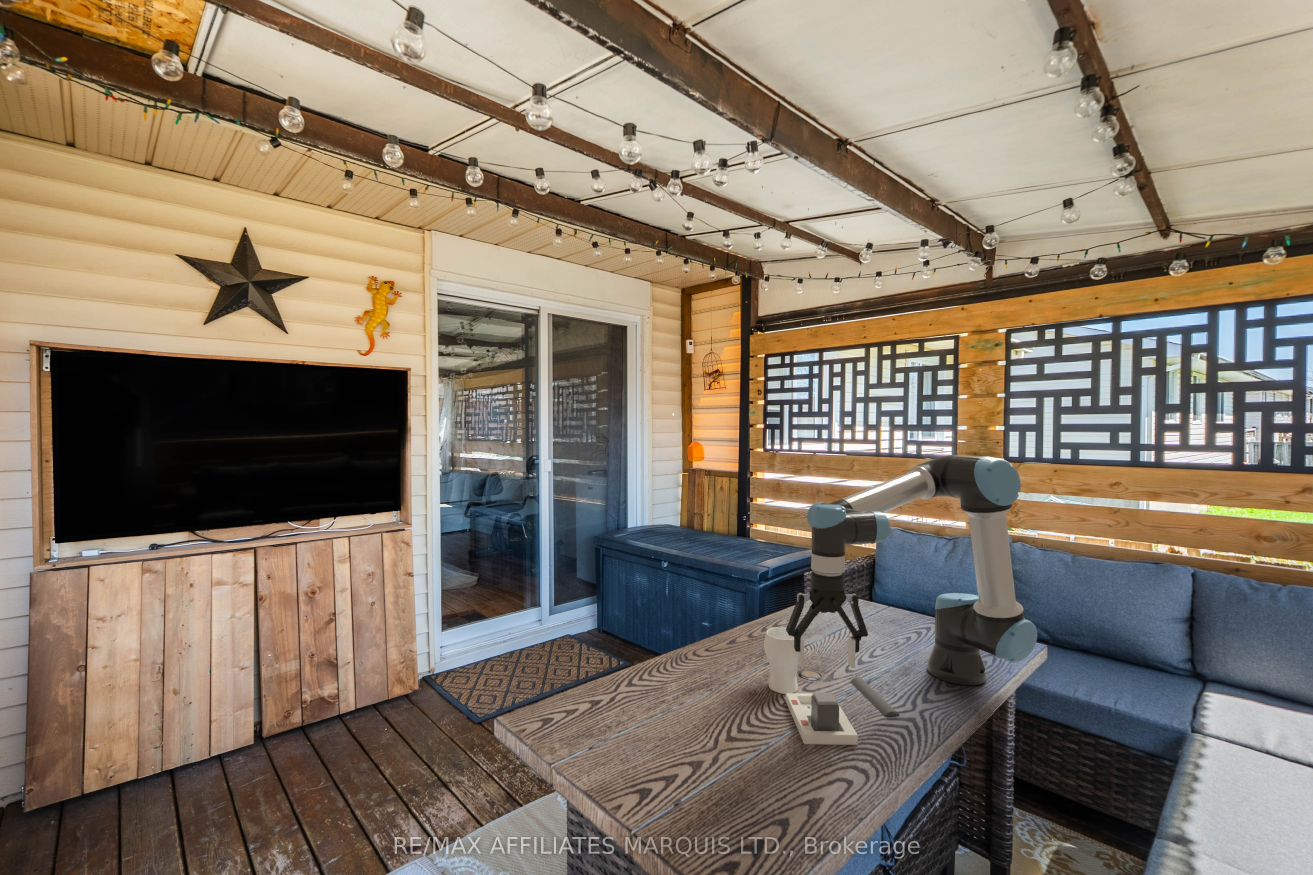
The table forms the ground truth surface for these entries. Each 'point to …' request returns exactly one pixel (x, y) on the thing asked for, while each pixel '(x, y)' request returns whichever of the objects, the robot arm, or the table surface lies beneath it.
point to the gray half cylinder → (873, 697)
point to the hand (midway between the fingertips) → (826, 665)
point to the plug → (824, 712)
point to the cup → (781, 660)
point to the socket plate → (802, 718)
